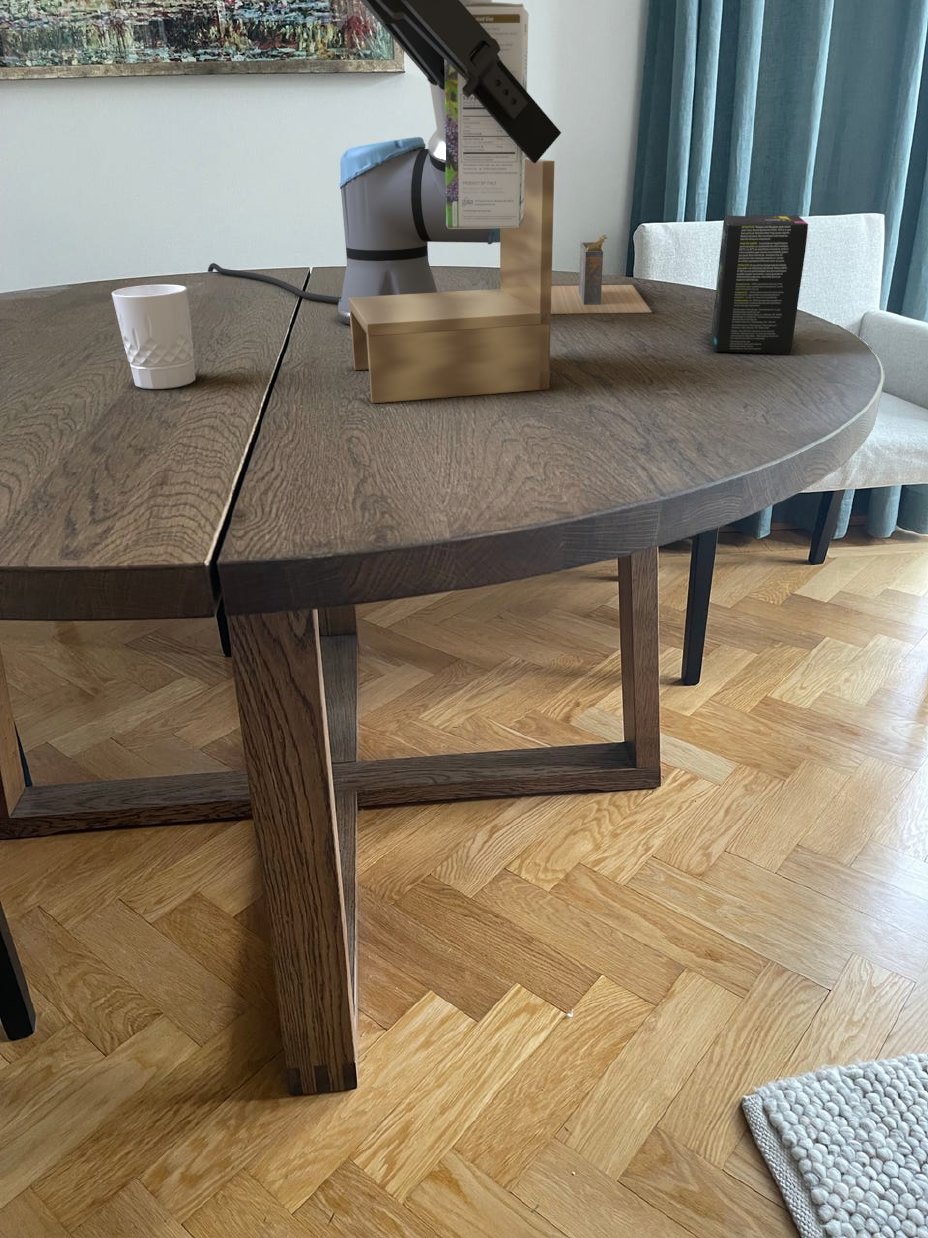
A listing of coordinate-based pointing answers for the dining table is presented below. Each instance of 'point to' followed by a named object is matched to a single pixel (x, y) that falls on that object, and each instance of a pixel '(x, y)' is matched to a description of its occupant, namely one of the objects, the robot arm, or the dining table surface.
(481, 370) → the shelf
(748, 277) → the tampon box
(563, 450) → the dining table surface
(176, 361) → the white cup
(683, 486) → the dining table surface
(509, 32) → the syrup box
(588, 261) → the ruin model on sheet
